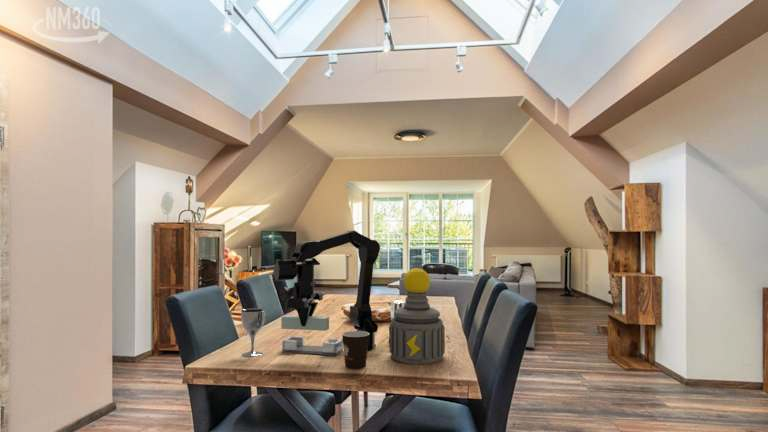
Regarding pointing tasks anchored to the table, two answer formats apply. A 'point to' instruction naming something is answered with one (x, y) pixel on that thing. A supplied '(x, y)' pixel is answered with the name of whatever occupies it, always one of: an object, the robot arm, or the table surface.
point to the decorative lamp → (417, 325)
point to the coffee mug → (355, 349)
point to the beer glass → (396, 306)
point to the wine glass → (252, 326)
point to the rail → (311, 323)
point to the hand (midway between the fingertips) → (305, 325)
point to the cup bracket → (296, 346)
